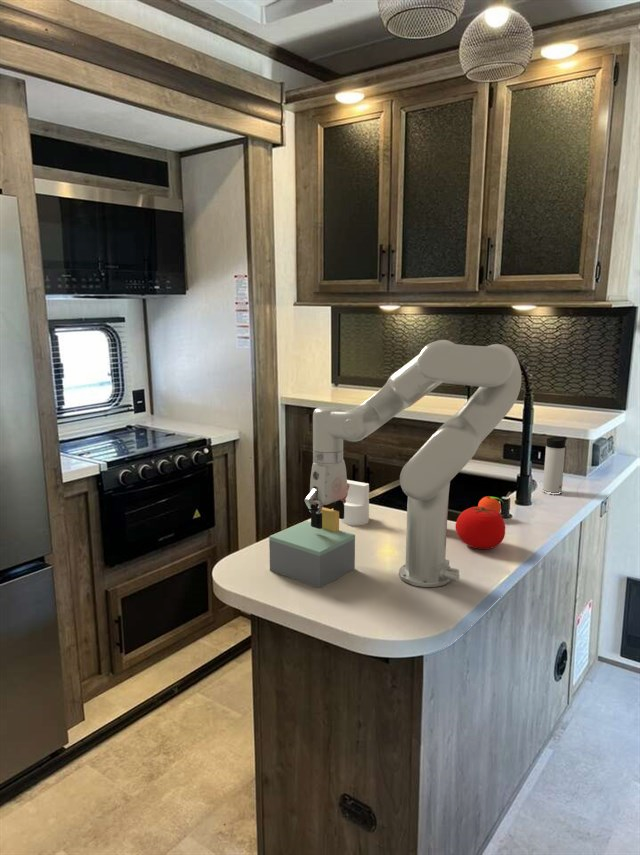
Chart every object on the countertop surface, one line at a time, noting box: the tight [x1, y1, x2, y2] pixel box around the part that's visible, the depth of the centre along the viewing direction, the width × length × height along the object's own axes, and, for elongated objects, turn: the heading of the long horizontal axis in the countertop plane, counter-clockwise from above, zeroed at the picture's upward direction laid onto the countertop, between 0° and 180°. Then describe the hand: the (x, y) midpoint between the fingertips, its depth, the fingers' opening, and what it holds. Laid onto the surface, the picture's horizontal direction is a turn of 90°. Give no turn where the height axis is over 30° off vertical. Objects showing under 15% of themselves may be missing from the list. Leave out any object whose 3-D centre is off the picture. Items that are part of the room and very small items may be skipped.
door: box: [268, 506, 356, 556], centre depth 153 cm, size 16×14×7 cm
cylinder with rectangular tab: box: [339, 479, 370, 526], centre depth 189 cm, size 9×9×12 cm
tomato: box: [455, 506, 506, 550], centre depth 169 cm, size 12×13×11 cm
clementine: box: [477, 495, 504, 514], centre depth 192 cm, size 8×7×7 cm
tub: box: [268, 538, 356, 589], centre depth 154 cm, size 16×14×8 cm
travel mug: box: [542, 436, 568, 493], centre depth 216 cm, size 6×7×20 cm
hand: (327, 522), depth 158 cm, fingers open, 8 cm apart
